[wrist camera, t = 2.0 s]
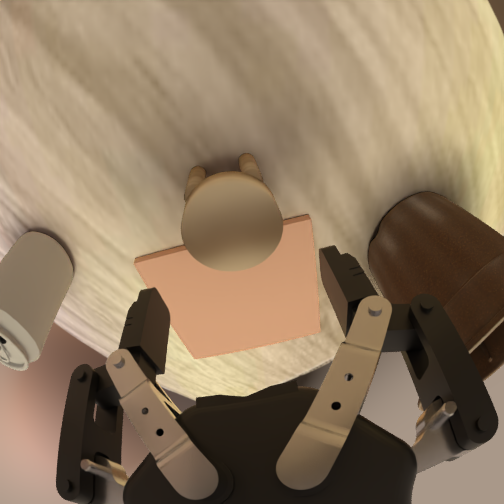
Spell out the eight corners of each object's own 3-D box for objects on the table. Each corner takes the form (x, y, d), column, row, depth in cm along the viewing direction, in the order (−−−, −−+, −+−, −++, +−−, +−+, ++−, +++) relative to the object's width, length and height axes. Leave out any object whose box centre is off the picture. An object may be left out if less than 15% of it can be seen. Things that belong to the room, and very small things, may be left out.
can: (68, 227, 21) (6, 327, 12) (83, 288, 26) (48, 385, 16) (12, 225, 20) (-50, 308, 10) (31, 281, 24) (-10, 365, 15)
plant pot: (447, 140, 20) (577, 230, 7) (470, 241, 28) (542, 327, 15) (322, 236, 25) (401, 396, 12) (379, 312, 33) (429, 418, 20)
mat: (135, 258, 24) (133, 263, 24) (308, 214, 24) (311, 219, 23) (194, 354, 34) (194, 359, 33) (318, 327, 33) (320, 332, 32)
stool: (179, 164, 20) (166, 200, 15) (257, 143, 20) (273, 172, 14) (202, 229, 23) (200, 280, 18) (272, 212, 23) (289, 258, 18)
